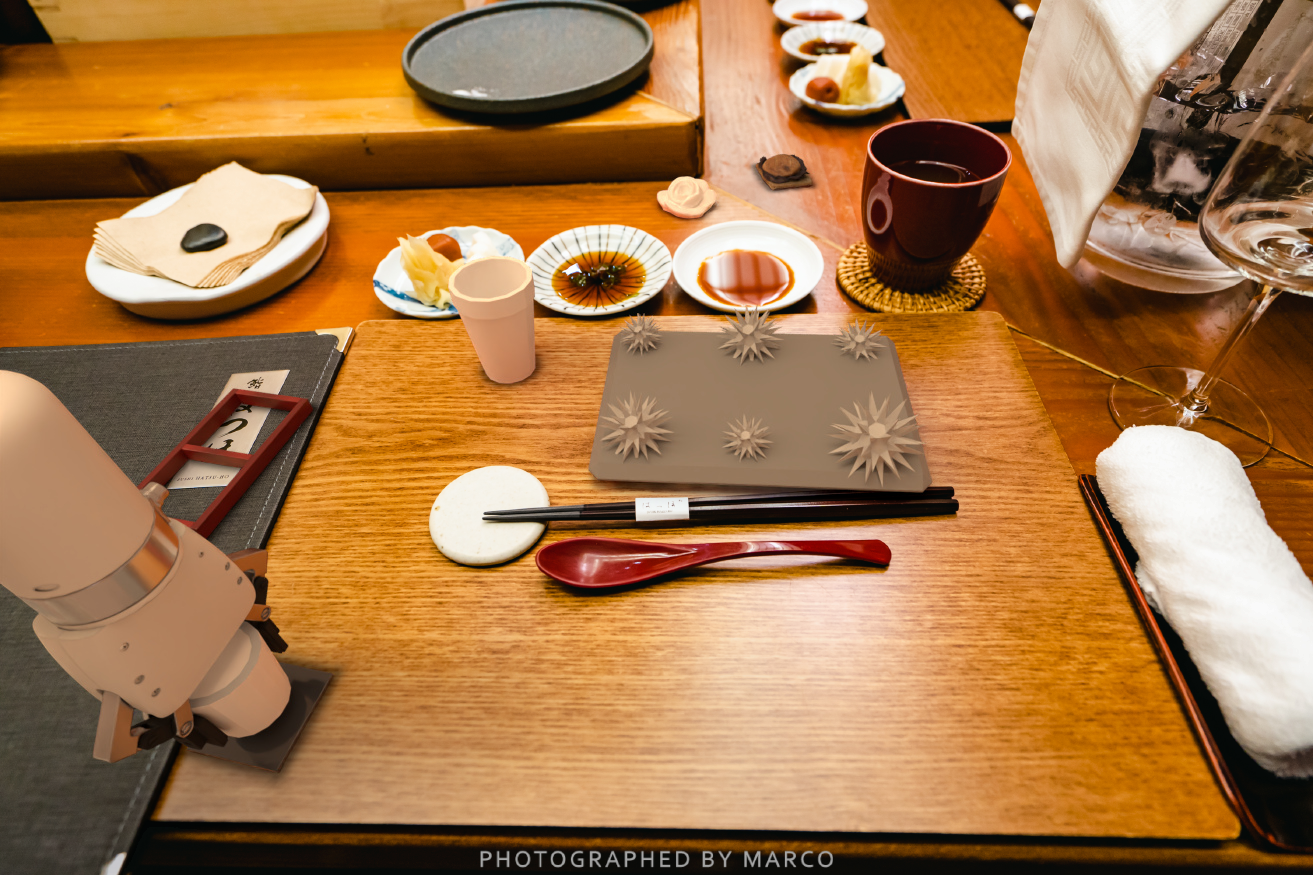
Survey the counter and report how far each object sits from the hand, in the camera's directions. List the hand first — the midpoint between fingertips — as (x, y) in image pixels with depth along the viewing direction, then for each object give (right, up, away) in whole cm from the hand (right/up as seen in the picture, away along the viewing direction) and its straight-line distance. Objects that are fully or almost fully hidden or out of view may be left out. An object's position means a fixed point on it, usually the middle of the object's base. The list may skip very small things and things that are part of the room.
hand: (240, 689), depth 53 cm
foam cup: (+14, +28, +33) cm, 46 cm away
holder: (-16, +17, +23) cm, 32 cm away
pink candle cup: (0, -2, +2) cm, 2 cm away
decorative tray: (+43, +22, +26) cm, 55 cm away
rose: (+37, +59, +62) cm, 93 cm away
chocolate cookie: (+55, +66, +69) cm, 111 cm away
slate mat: (0, -3, +3) cm, 4 cm away
